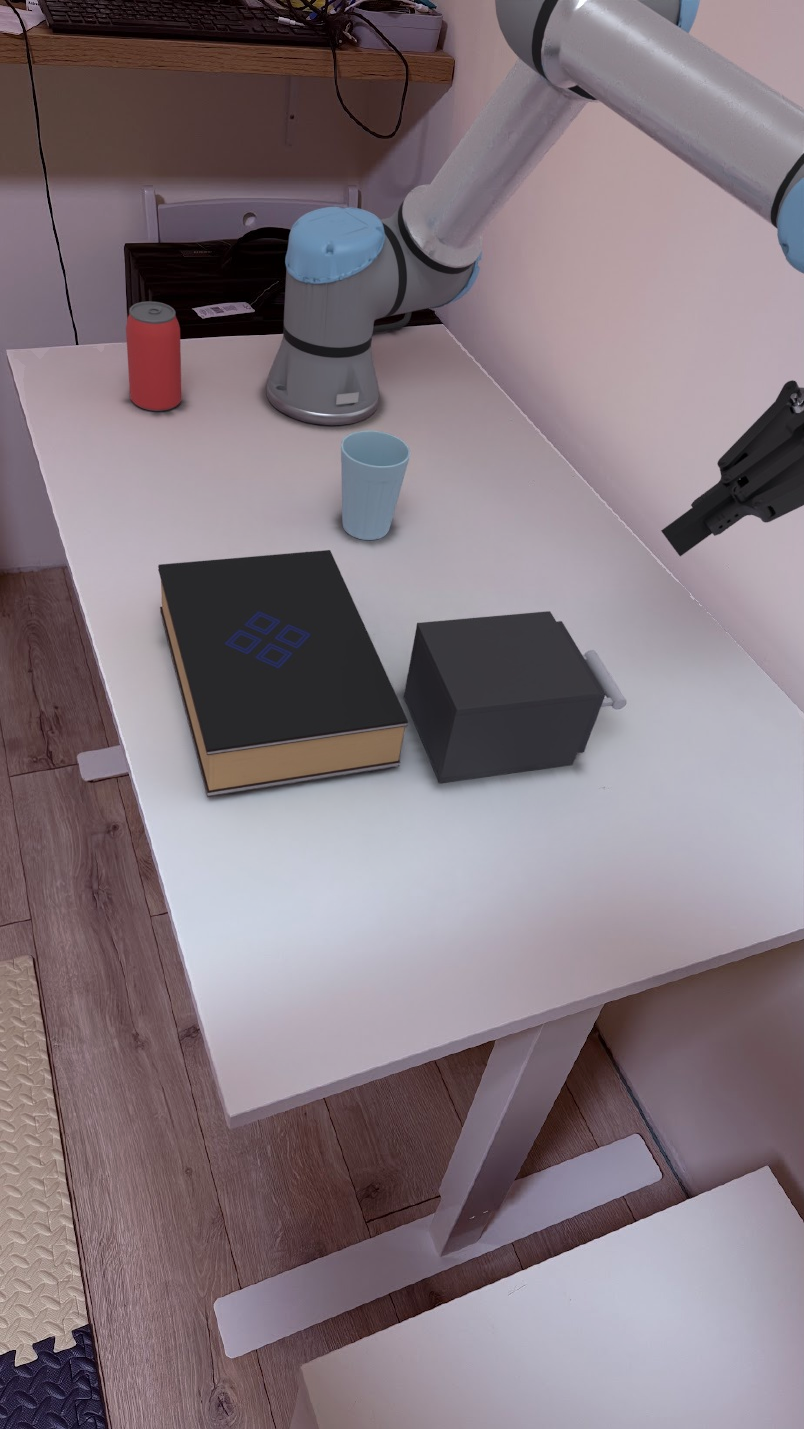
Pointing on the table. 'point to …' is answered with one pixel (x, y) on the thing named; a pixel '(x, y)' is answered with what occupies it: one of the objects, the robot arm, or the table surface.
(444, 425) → the table surface
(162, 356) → the beer can
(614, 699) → the drawer
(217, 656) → the book
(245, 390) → the table surface
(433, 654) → the cabinet
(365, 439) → the cup
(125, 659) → the table surface
